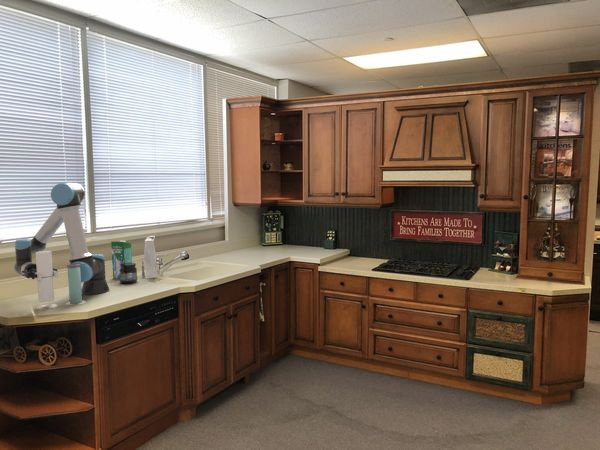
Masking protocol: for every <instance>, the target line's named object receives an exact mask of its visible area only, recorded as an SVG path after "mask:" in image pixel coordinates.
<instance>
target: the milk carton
mask: <svg viewBox="0 0 600 450" xmlns="http://www.w3.org/2000/svg"><path fill="white" fill-rule="evenodd" d="M110 246H111V263H112V266H111V267H112V279H116V280H117V279H118V280H120V271H119V270H120V264H122V263H133V261H132V260H133V257H132V256H133V255H132V243H131V242H127V241H126V240H119V241H117V240H115V241H111V242H110Z"/></svg>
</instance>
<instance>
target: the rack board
mask: <svg viewBox="0 0 600 450" xmlns="http://www.w3.org/2000/svg"><path fill="white" fill-rule="evenodd" d="M86 303H87V300H83V299H82V303H79V304H70V301H68V302H66V303H65V305H66V306H78V305H83V304H86ZM57 307H59V305H58V304H56V303H49V304H43V305H42V304H41V305H39V306H37V307H36V309H37V310H50V309H54V308H57Z"/></svg>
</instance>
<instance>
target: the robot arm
mask: <svg viewBox="0 0 600 450" xmlns="http://www.w3.org/2000/svg"><path fill="white" fill-rule="evenodd" d="M85 195H86V191H85V188H84V187H83V186H82V185H81V184H80V183H78V182H67V181H66V182H59V183H57V184H55V185H54V186H53V187H52V188H51V191H50V198H51V200H52V202H53V203H54V204H56V207H55V209H54V210H53V212H52V213H51V214H50V215H49V216H48V218H47V219H46V221H45V222H43V224H42V226H41V227H40V228H39V229H38V231H37V232H36V234H35V235H34V237H33V238H32V239H30V238H20V239H19V238H18V239H16V240H15V241H14V249H15V263H14V265H13V269H14V271H15V272H16V273H17V274H18V275H21V276H23V277H25V278H26V279H32V280H35V279H36V280H37V279H40V280H41V279H42V277H41V274H40V273H37V267H36V262H33V255H34V254H35V255H36V252H39V251H46V249H47V244H48V243H49V241H50V240H51V239H52V237H53V236H54V235H55V234H56V232H57V231H58V229H59V228H60V227H61V225H64V228H65V233H66V237H67V242H68V246H69V251H70V254H71V255H70V258H69V259H68V260H69V264H80V265H81V266H80V272H81V283H82V285H81V289H82V295H85V296H91V295H92V296H93V295H95V296H96V295H101V294H105V293H109V292H110V287H109V285H108V282H107V280H106V262H105V261H106V260H105V255H104V254H98V253H97V254H92V253H90V252H89V249H88V245H87V241H86V235H85V232H84V227H83V223H82V222H83V221H82V218H81V213H80V208H81V207H82V205H81V203H82V202H83V200H84V199H85ZM58 277H59V273H58V269H56V268H53V278H58Z"/></svg>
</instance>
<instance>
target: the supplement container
mask: <svg viewBox="0 0 600 450" xmlns="http://www.w3.org/2000/svg"><path fill="white" fill-rule="evenodd" d="M137 270H138V269H137V264H136V262H132V263H122V264H120V270H119V271H120V279H119V282H120V284H123V285H125V284H126V285H130V284H134V283H137V282H138V271H137Z"/></svg>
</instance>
